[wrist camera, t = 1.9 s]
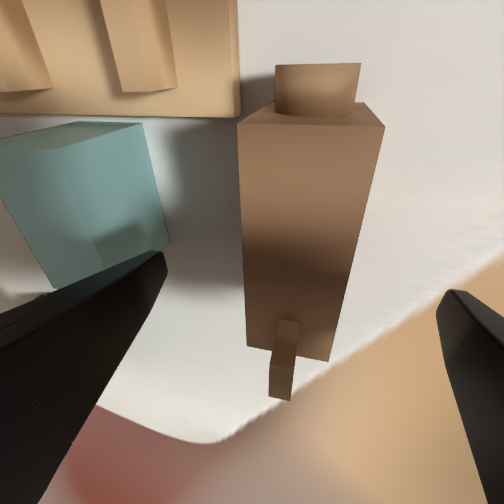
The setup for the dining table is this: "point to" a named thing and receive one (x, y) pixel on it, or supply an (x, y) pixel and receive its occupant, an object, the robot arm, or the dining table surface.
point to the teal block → (82, 196)
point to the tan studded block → (303, 210)
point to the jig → (120, 57)
